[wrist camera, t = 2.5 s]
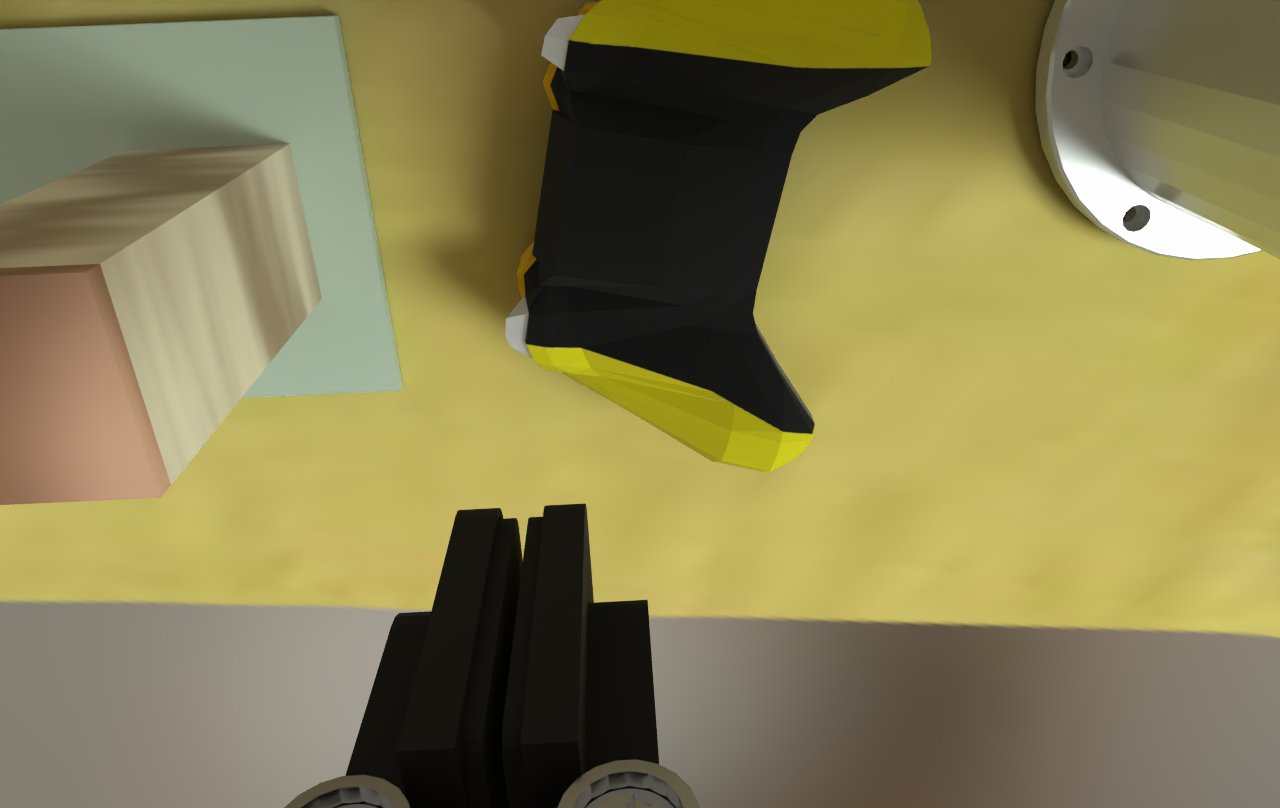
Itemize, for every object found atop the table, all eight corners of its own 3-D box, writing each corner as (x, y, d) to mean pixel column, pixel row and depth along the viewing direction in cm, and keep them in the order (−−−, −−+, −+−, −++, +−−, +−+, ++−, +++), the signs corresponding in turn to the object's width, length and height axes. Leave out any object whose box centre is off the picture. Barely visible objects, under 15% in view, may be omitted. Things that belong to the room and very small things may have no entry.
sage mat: (338, 15, 26) (333, 16, 26) (402, 384, 32) (399, 391, 32) (-352, 43, 26) (-368, 45, 26) (-169, 409, 32) (-180, 416, 31)
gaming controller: (907, -27, 27) (569, -100, 25) (973, -19, 22) (558, -109, 21) (776, 419, 33) (504, 376, 32) (805, 502, 28) (484, 454, 27)
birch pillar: (289, 143, 28) (86, 272, 17) (322, 298, 30) (160, 497, 19) (124, 150, 28) (-183, 283, 17) (170, 305, 30) (-77, 508, 19)
